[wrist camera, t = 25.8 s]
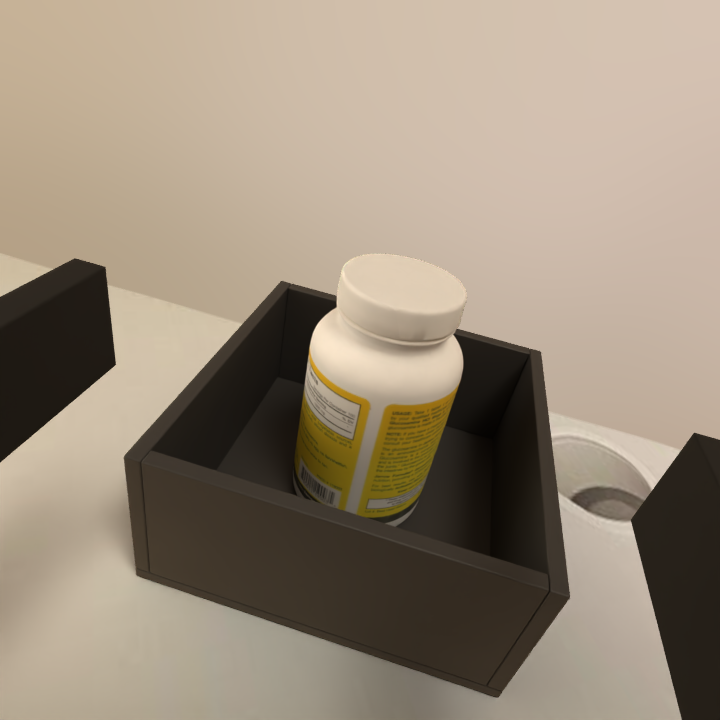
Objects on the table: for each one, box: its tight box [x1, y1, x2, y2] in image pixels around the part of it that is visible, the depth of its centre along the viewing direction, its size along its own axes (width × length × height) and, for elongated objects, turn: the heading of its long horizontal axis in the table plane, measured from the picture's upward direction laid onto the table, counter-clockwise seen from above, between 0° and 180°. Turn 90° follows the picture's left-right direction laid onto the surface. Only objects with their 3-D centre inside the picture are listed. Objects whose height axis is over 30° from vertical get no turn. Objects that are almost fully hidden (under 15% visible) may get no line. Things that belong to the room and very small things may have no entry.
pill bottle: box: [293, 254, 467, 527], centre depth 22 cm, size 6×6×11 cm
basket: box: [124, 281, 570, 697], centre depth 23 cm, size 14×14×6 cm
